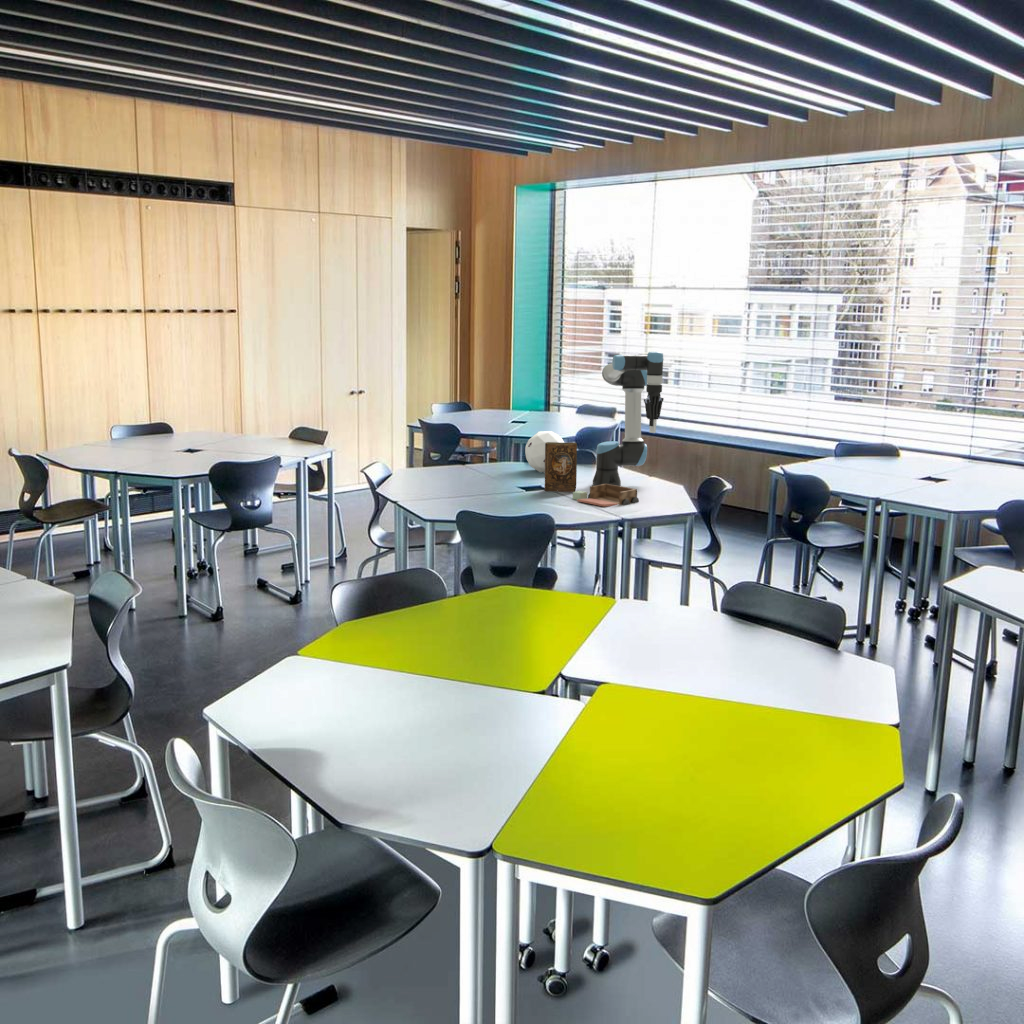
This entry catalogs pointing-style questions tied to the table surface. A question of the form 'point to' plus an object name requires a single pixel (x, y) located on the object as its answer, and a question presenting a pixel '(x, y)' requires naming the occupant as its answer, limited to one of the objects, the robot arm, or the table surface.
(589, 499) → the tailgate
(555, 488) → the book
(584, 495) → the block
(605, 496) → the wooden toy wagon
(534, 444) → the geometric sculpture
